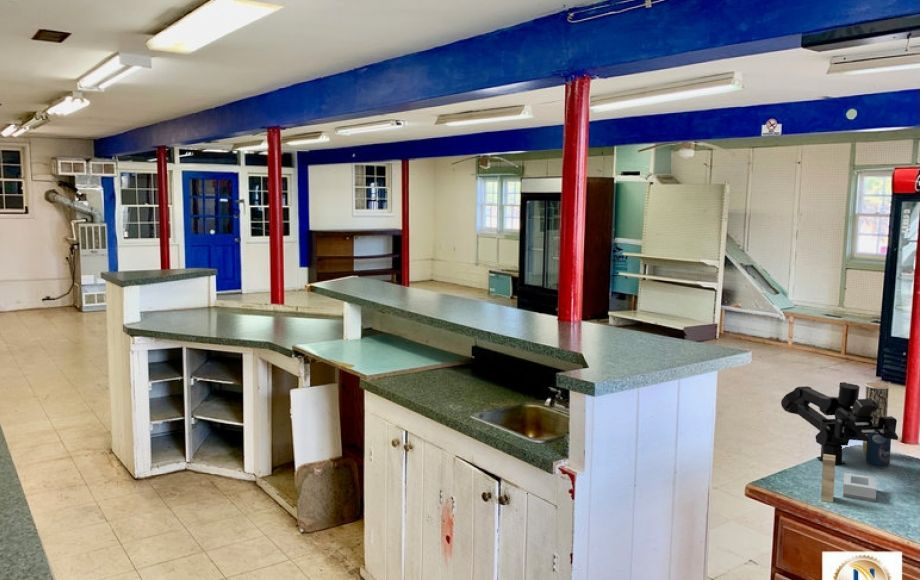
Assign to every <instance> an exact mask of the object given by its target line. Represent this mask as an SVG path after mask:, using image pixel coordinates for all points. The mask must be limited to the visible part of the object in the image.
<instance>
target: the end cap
mask: <svg viewBox="0 0 920 580" xmlns="http://www.w3.org/2000/svg"><path fill="white" fill-rule="evenodd" d="M876 479H877V477H875V476H868V475H862V474H856V473H850V472H849V473H848V472H843V490H842V497H843V496H844V498H849V497H850V499H856V500H861V501H868V502H873V503H876V502H877V500H876V499H877V481H876Z"/></svg>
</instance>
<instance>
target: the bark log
mask: <svg viewBox="0 0 920 580" xmlns="http://www.w3.org/2000/svg"><path fill="white" fill-rule="evenodd" d="M864 395H865V398H864V399H869V400H873V401H875V402H876V403H877V404H878V408H877V410H876V411H873V412H872V414H871V415H872V416H873V420H871V422H872V424H879V418H881V417H888V406H889V405H888V404H889V385H888V384H886V383H882V382H867V383H865V394H864ZM865 435H867V434H865ZM866 449H867V441H862V453H863V454H865V455H866Z"/></svg>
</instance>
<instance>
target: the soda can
mask: <svg viewBox="0 0 920 580" xmlns="http://www.w3.org/2000/svg"><path fill="white" fill-rule="evenodd" d="M867 436H868V437H869V441H867V449H866V454H865V461H866V462H867V465H869V466H870V465H871V467H873V466H874V468H878V467H879V469H880V467H881V469H885V468H887V467H888V466H889V465H890V463H891V445H892V439H887V438H883V436H880V435H879V433H878V432H870V434H867ZM884 467H885V468H884Z"/></svg>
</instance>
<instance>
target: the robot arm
mask: <svg viewBox="0 0 920 580" xmlns="http://www.w3.org/2000/svg"><path fill="white" fill-rule="evenodd" d="M860 389H861V388H860V386H859V385H858V384H853V383H849V382H848V383H847V382H844V381H843V382H839V391H838V396H829V395H826V394H824V393H822V392H819V391H817V390H815V389H813V388H812V387H811V386H809V385H808V386H806V385H805V386H797V387H795V388H794V389H793V390H792V391H790V392H788V393H786V394H785V395H783V398H782V399H781V401H780V404H781V407H782V409H783V410H784V412H787V413H789V414H795V415H798V416H800V417H801V418H802V419H804V420H805V421H806V422H808V423H809V424H810V425H812V427H814V428H816V430H818V431H819V432H818V433H817V434H816V435H815V437H814V438H815V441H816V443H817V444H819V445H820V446H821V447H820V456H817V457H816V459H817V458H818V459H817V460H819V461H820V462H822V463H823V454H827V455H834V456H835V465H845V464H846V461H844V460H843V446H844V447H846V446H848V444H849V442H850V440H851V441H860V442H863V441H869V437H868V436H867V435H865V434H870V432H878V433H879V435H880V436H883V438H887V439H891V440H893V441H894V440H895V441H898V440H899V436H898V434H897V433H896V429H897V422H898V420H897V419H896V418H895V417H893V416H887V417H881V418H879V424H872V422H871V420H873V416H872V415H871V414H872V412H873V411H876V410H877V408H878V404H877V403H876V402H875V401H873V400H869V399H865V398H859V394H860ZM810 404H813V405H814V406H817V408H818V409H819V412H818V411H817V410H816V409H814V408H813V407H812V406H810ZM820 412H821V413H822V414H823V415H822V414H821V413H820ZM824 415H825V416H834V418H827V417H825V416H824Z"/></svg>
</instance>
